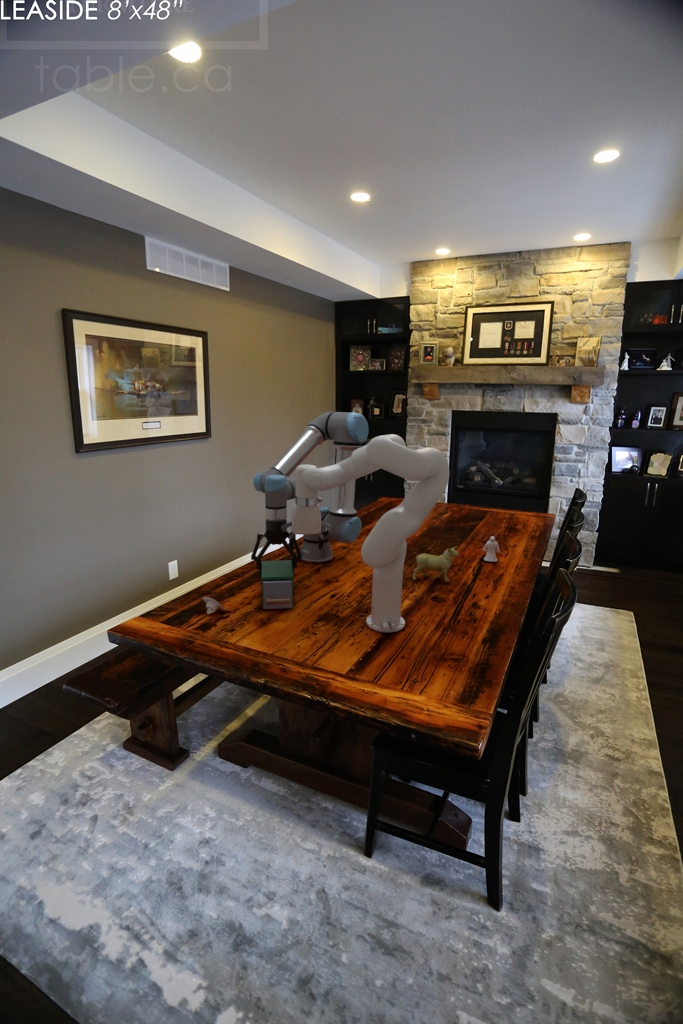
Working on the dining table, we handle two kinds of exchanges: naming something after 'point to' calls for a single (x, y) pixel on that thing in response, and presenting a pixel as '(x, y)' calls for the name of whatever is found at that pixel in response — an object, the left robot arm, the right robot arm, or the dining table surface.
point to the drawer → (277, 594)
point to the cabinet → (277, 573)
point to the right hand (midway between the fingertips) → (306, 549)
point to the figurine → (491, 550)
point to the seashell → (212, 605)
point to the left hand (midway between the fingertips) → (277, 577)
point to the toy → (436, 563)
